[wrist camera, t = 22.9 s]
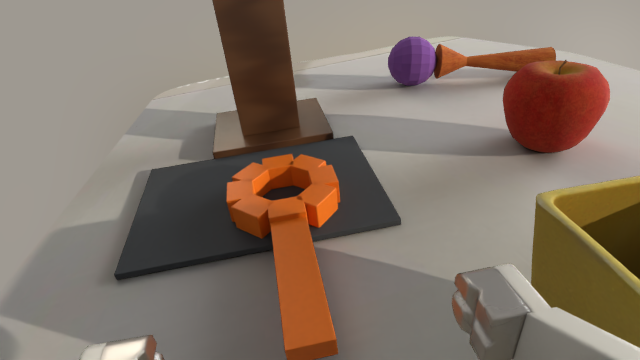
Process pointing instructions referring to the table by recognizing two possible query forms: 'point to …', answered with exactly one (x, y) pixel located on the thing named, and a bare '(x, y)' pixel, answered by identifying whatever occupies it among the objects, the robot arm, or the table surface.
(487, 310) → the robot arm
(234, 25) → the stand
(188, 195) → the mat
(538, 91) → the apple
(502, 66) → the kendama
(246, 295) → the table surface
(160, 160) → the table surface
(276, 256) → the orange ring
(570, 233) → the flower pot
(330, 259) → the table surface
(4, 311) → the table surface
